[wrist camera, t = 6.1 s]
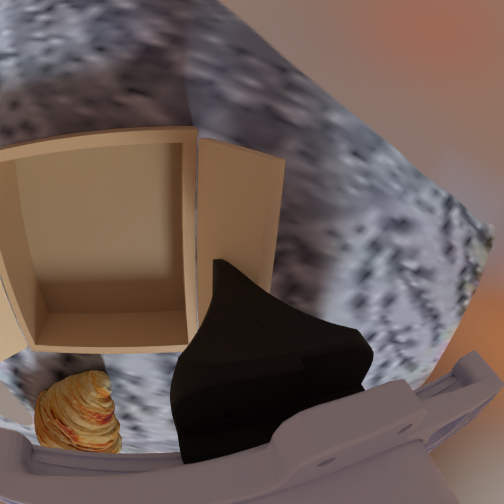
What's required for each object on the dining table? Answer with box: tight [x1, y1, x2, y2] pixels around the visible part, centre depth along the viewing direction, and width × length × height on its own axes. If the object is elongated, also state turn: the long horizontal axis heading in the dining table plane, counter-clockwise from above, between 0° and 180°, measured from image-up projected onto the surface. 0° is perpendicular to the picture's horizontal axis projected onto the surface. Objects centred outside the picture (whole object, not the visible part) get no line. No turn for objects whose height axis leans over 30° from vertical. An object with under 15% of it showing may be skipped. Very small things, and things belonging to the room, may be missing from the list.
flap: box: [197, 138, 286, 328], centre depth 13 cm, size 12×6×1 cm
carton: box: [0, 126, 198, 354], centre depth 15 cm, size 13×12×4 cm
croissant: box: [34, 370, 122, 453], centre depth 22 cm, size 21×10×8 cm, turn 143°
